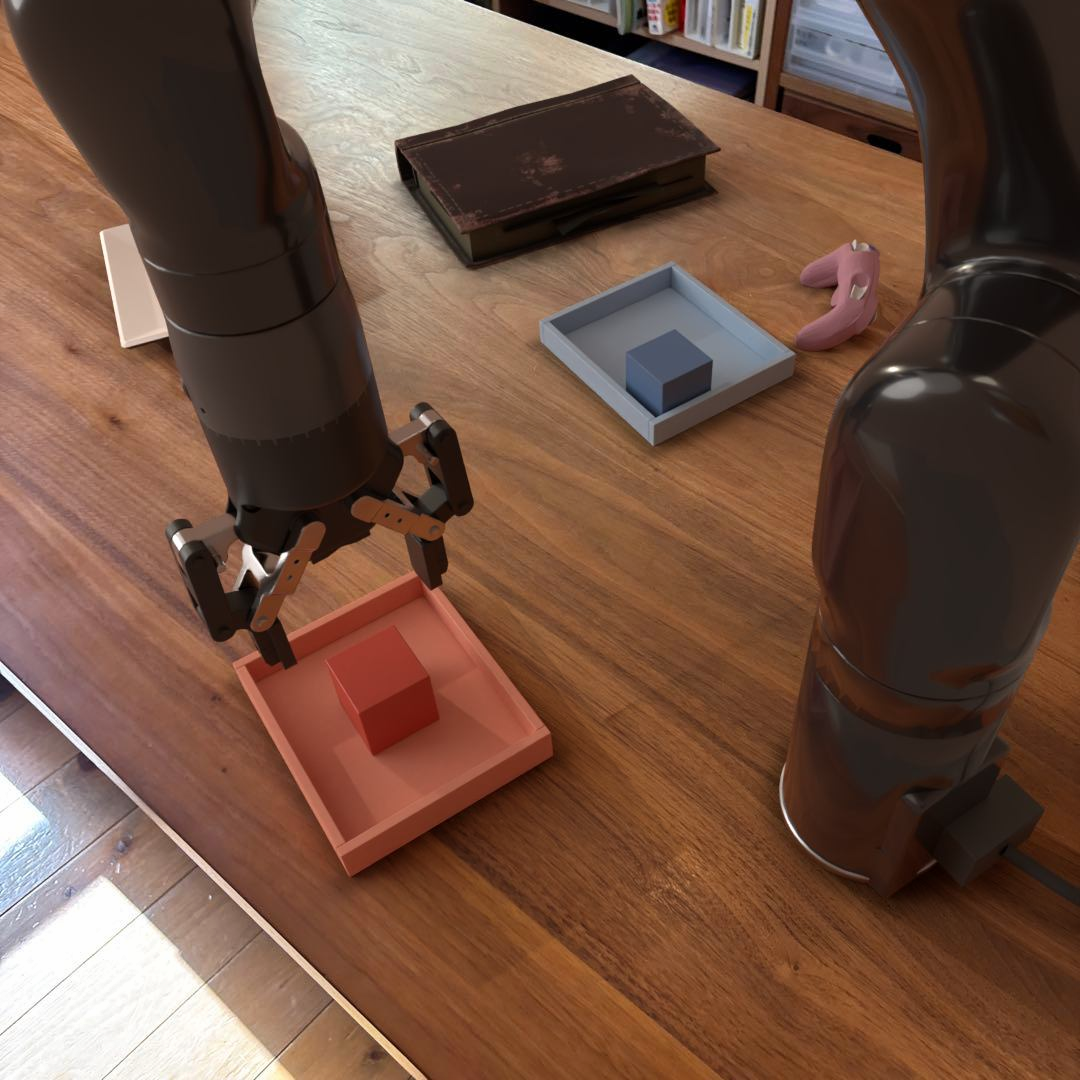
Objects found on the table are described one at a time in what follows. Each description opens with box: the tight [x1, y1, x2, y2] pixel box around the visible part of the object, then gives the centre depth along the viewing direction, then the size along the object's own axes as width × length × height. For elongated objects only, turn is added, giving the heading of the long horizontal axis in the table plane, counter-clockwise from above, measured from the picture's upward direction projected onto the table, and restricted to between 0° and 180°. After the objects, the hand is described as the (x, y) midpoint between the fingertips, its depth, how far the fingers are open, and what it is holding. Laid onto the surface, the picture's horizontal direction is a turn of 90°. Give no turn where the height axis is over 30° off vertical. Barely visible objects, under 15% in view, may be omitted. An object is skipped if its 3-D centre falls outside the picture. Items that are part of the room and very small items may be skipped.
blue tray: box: [538, 260, 797, 447], centre depth 86 cm, size 15×13×2 cm
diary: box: [393, 73, 722, 269], centre depth 103 cm, size 19×25×5 cm
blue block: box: [626, 329, 713, 418], centre depth 81 cm, size 4×4×4 cm
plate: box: [99, 223, 169, 350], centre depth 98 cm, size 19×19×2 cm
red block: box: [325, 625, 440, 756], centre depth 65 cm, size 4×4×4 cm
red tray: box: [232, 570, 554, 878], centre depth 66 cm, size 15×13×2 cm
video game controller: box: [794, 239, 881, 352], centre depth 87 cm, size 10×5×7 cm, turn 168°
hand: (358, 616), depth 58 cm, fingers open, 8 cm apart
